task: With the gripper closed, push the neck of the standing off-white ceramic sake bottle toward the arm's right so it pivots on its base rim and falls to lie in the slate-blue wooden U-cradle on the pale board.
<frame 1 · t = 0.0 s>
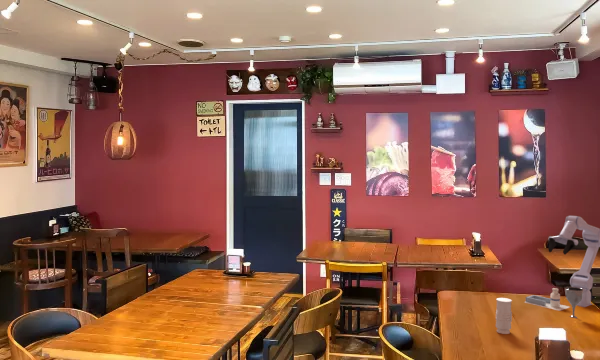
hand: (556, 252, 267), 32 cm above the table, tool tilted 50°, fingers open, 7 cm apart
candle: (503, 332, 240), on the table
wine glass: (573, 318, 261), on the table
cradle: (546, 305, 284), on the table
bottle: (554, 306, 280), point 1 cm above the table, touching cradle
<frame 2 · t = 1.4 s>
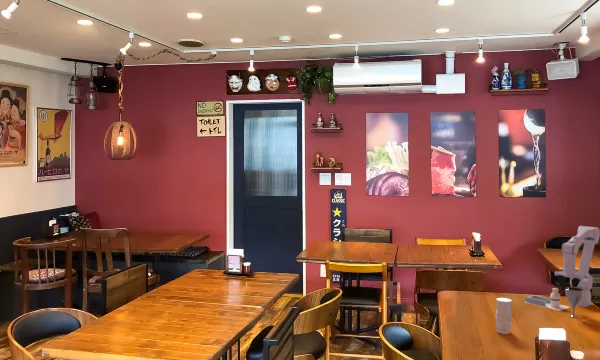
hand: (568, 291, 274), 10 cm above the table, tool pointing down, fingers open, 5 cm apart
nothing on the table moved.
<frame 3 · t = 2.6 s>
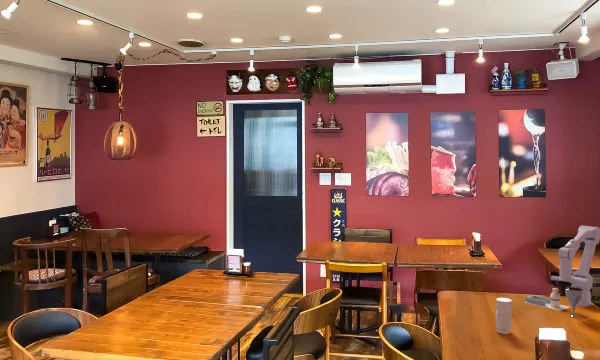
hand: (564, 295, 276), 8 cm above the table, tool pointing down, fingers closed
nothing on the table moved.
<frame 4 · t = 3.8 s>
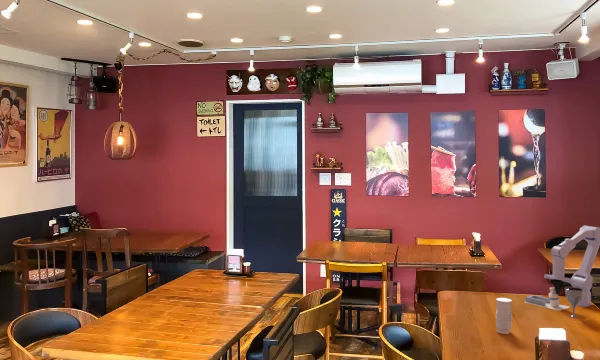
hand: (557, 293, 278), 8 cm above the table, tool pointing down, fingers closed, pressing on bottle
bottle: (554, 305, 280), point 1 cm above the table, tilted 9°, touching cradle, gripper
everything else where it was.
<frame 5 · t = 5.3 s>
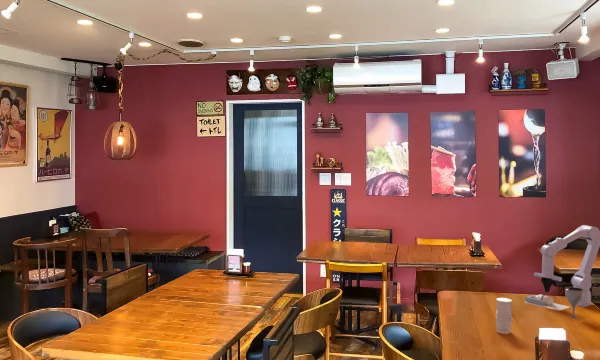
hand: (547, 291, 283), 8 cm above the table, tool pointing down, fingers closed
bottle: (551, 301, 282), point 3 cm above the table, tilted 90°, touching cradle
everything else where it was.
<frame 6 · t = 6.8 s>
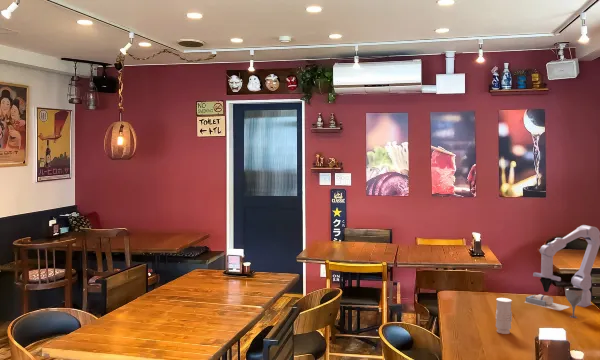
hand: (546, 291, 284), 8 cm above the table, tool pointing down, fingers closed
nothing on the table moved.
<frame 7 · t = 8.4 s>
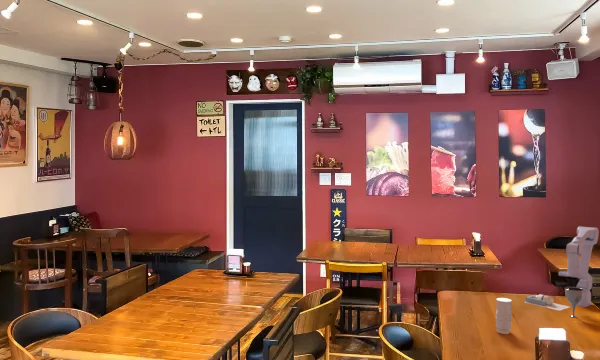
hand: (572, 291, 273), 10 cm above the table, tool pointing down, fingers closed
nothing on the table moved.
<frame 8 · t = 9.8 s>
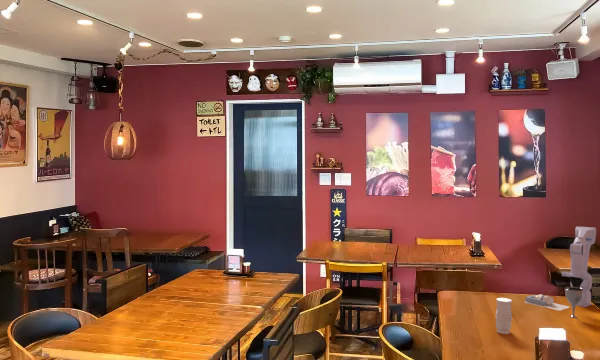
hand: (576, 291, 272), 10 cm above the table, tool pointing down, fingers closed
nothing on the table moved.
at the end: bottle tilted 90°; bottle inside the target area on the cradle (3.7 cm from its centre), point 2.9 cm above the cradle's base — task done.
